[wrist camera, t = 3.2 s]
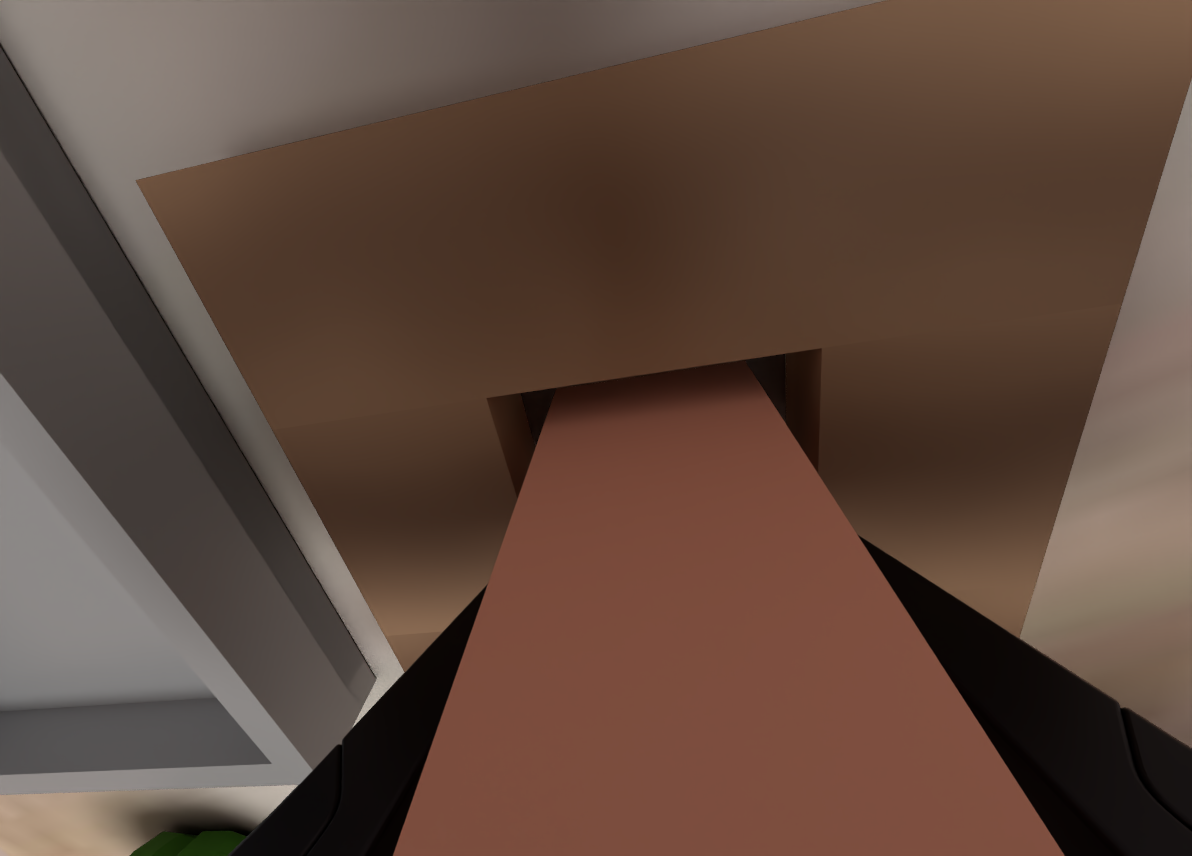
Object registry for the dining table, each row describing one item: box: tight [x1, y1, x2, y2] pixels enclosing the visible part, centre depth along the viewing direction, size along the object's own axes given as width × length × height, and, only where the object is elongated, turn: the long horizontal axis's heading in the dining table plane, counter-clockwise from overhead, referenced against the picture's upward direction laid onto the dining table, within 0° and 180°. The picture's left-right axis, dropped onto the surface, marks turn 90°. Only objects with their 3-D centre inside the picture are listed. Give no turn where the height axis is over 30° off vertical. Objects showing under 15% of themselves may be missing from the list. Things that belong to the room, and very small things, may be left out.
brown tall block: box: [393, 361, 1065, 856], centre depth 7 cm, size 4×4×9 cm
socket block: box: [136, 0, 1192, 672], centre depth 10 cm, size 14×14×2 cm
